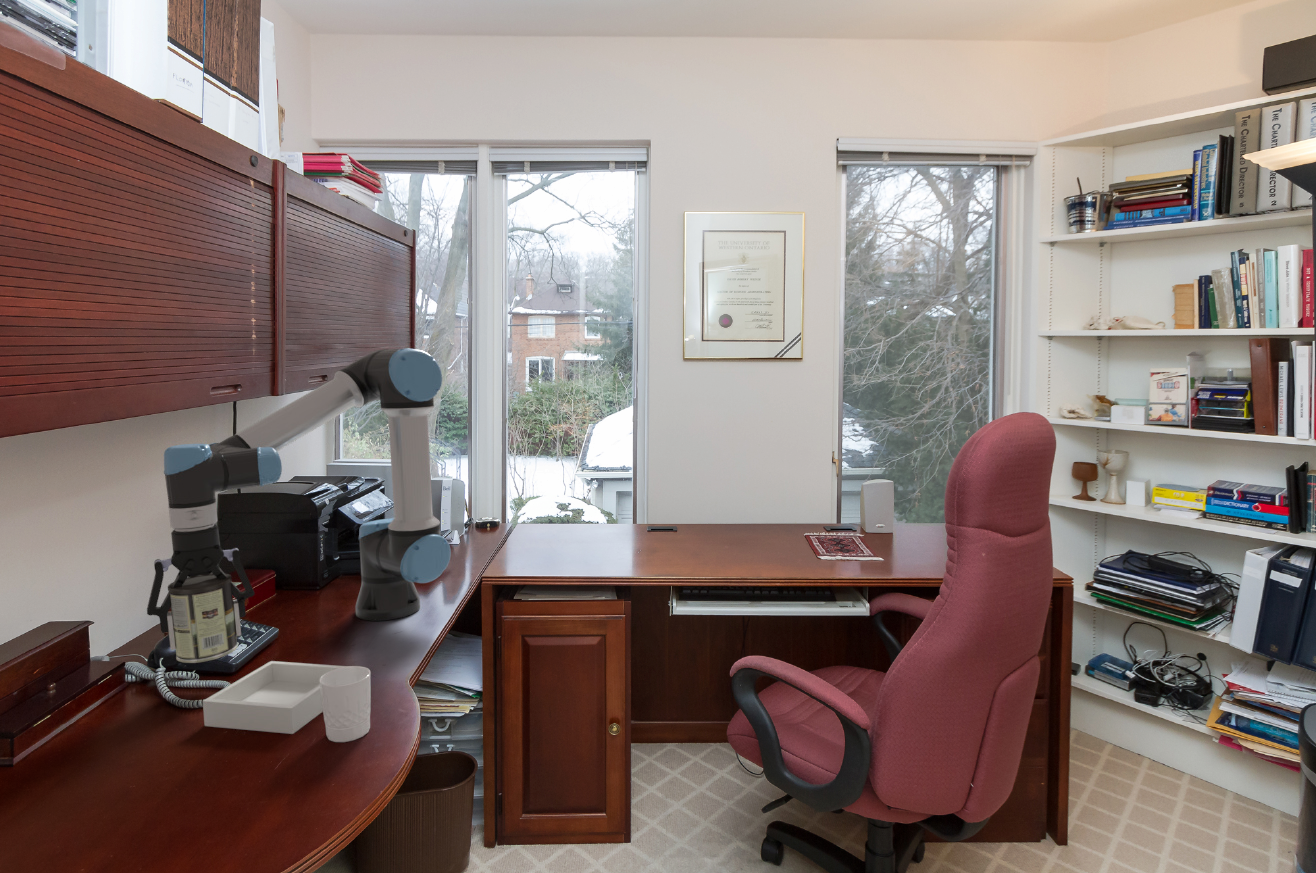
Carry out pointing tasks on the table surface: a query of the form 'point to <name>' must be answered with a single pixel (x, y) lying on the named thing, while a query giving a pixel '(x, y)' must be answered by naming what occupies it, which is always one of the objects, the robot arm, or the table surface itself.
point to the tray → (269, 698)
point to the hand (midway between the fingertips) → (206, 640)
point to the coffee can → (203, 618)
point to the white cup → (346, 702)
